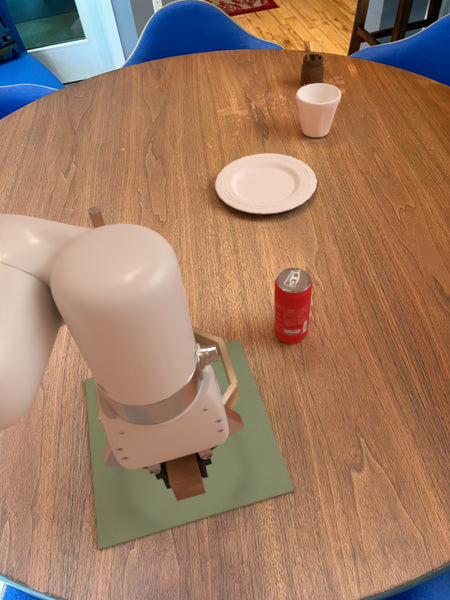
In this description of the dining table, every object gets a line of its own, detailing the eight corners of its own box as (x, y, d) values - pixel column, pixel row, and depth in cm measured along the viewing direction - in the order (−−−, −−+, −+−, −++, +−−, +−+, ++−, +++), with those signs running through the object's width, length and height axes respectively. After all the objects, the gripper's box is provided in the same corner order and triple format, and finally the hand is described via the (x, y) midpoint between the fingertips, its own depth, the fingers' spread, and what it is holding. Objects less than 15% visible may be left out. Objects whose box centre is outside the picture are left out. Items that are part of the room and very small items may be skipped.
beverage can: (269, 341, 74) (269, 288, 65) (279, 316, 77) (281, 263, 68) (302, 350, 72) (307, 297, 63) (311, 324, 75) (317, 270, 66)
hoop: (115, 520, 48) (101, 503, 44) (97, 356, 61) (86, 332, 58) (265, 475, 50) (264, 455, 46) (216, 325, 63) (212, 300, 60)
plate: (300, 153, 107) (300, 146, 106) (329, 210, 93) (330, 202, 92) (208, 168, 106) (208, 161, 104) (224, 228, 92) (224, 220, 91)
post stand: (87, 265, 88) (72, 229, 81) (84, 238, 93) (70, 201, 86) (130, 255, 89) (118, 218, 82) (124, 229, 94) (113, 192, 87)
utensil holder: (327, 82, 129) (331, 35, 120) (312, 91, 126) (316, 43, 117) (309, 77, 132) (312, 30, 123) (295, 85, 129) (297, 38, 120)
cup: (340, 142, 109) (344, 102, 102) (296, 144, 110) (297, 105, 103) (334, 119, 116) (338, 81, 109) (292, 122, 116) (294, 84, 109)
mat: (99, 550, 56) (98, 549, 55) (85, 380, 71) (84, 379, 71) (294, 491, 59) (294, 490, 58) (239, 340, 74) (239, 339, 74)
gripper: (241, 310, 39) (249, 416, 53) (41, 361, 37) (103, 458, 51) (270, 386, 34) (271, 481, 48) (41, 449, 33) (110, 529, 46)
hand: (184, 468), depth 50 cm, fingers closed on hoop, 3 cm apart
